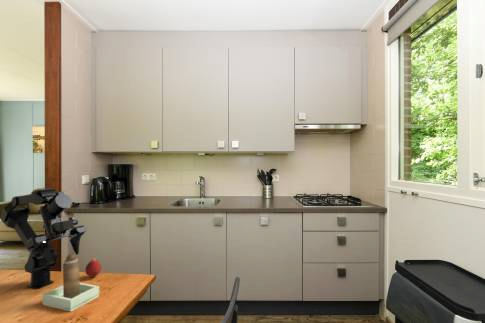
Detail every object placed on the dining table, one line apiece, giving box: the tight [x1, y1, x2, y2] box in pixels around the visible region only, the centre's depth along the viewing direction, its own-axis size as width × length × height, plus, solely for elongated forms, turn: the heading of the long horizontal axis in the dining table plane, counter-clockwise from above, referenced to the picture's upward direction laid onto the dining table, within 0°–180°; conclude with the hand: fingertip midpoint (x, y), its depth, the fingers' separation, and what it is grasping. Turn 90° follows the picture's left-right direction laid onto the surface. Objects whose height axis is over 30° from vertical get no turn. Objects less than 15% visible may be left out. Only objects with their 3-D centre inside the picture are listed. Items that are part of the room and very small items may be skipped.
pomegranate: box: [85, 257, 102, 278], centre depth 115 cm, size 6×6×8 cm
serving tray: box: [42, 282, 100, 312], centre depth 96 cm, size 13×11×4 cm
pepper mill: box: [62, 253, 81, 299], centre depth 96 cm, size 5×5×15 cm
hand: (65, 258), depth 102 cm, fingers open, 9 cm apart
